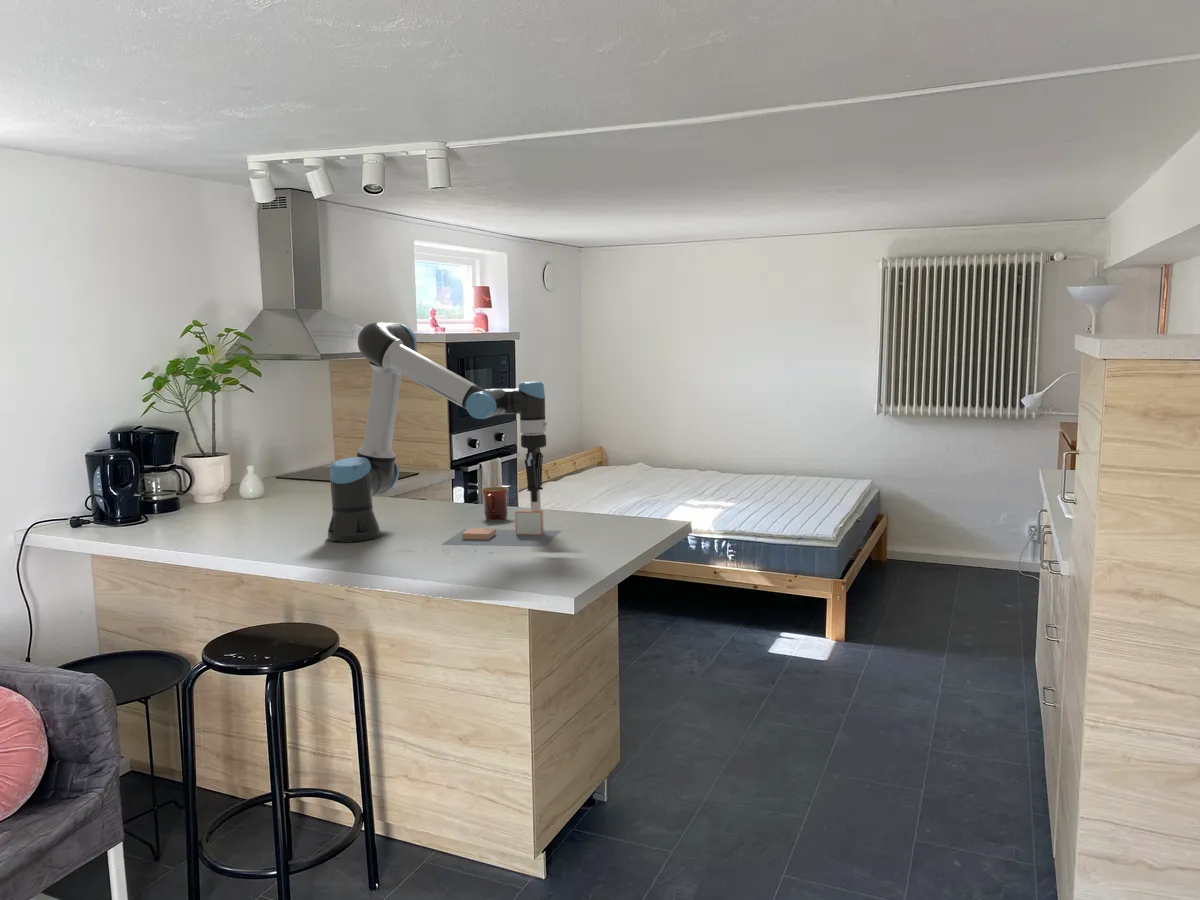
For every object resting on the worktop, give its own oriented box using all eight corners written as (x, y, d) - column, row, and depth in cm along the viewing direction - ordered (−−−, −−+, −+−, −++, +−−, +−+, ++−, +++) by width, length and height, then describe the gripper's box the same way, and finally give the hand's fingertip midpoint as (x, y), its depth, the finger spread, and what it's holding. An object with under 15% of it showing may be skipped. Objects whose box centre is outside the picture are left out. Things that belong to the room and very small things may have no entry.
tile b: (515, 535, 255) (514, 511, 254) (517, 533, 257) (516, 510, 256) (542, 535, 253) (541, 511, 253) (543, 534, 255) (543, 510, 254)
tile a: (469, 534, 257) (462, 539, 251) (469, 528, 257) (461, 533, 250) (496, 534, 256) (488, 540, 249) (495, 528, 256) (488, 533, 249)
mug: (487, 517, 289) (486, 486, 287) (513, 517, 287) (512, 486, 286) (475, 524, 277) (474, 492, 276) (501, 525, 275) (500, 493, 274)
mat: (441, 548, 245) (441, 544, 245) (464, 532, 265) (464, 529, 265) (545, 550, 240) (545, 546, 240) (561, 534, 260) (561, 530, 260)
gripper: (540, 436, 252) (542, 516, 255) (550, 431, 265) (552, 507, 268) (515, 436, 253) (518, 516, 256) (526, 431, 266) (529, 507, 269)
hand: (535, 511), depth 262 cm, fingers closed
